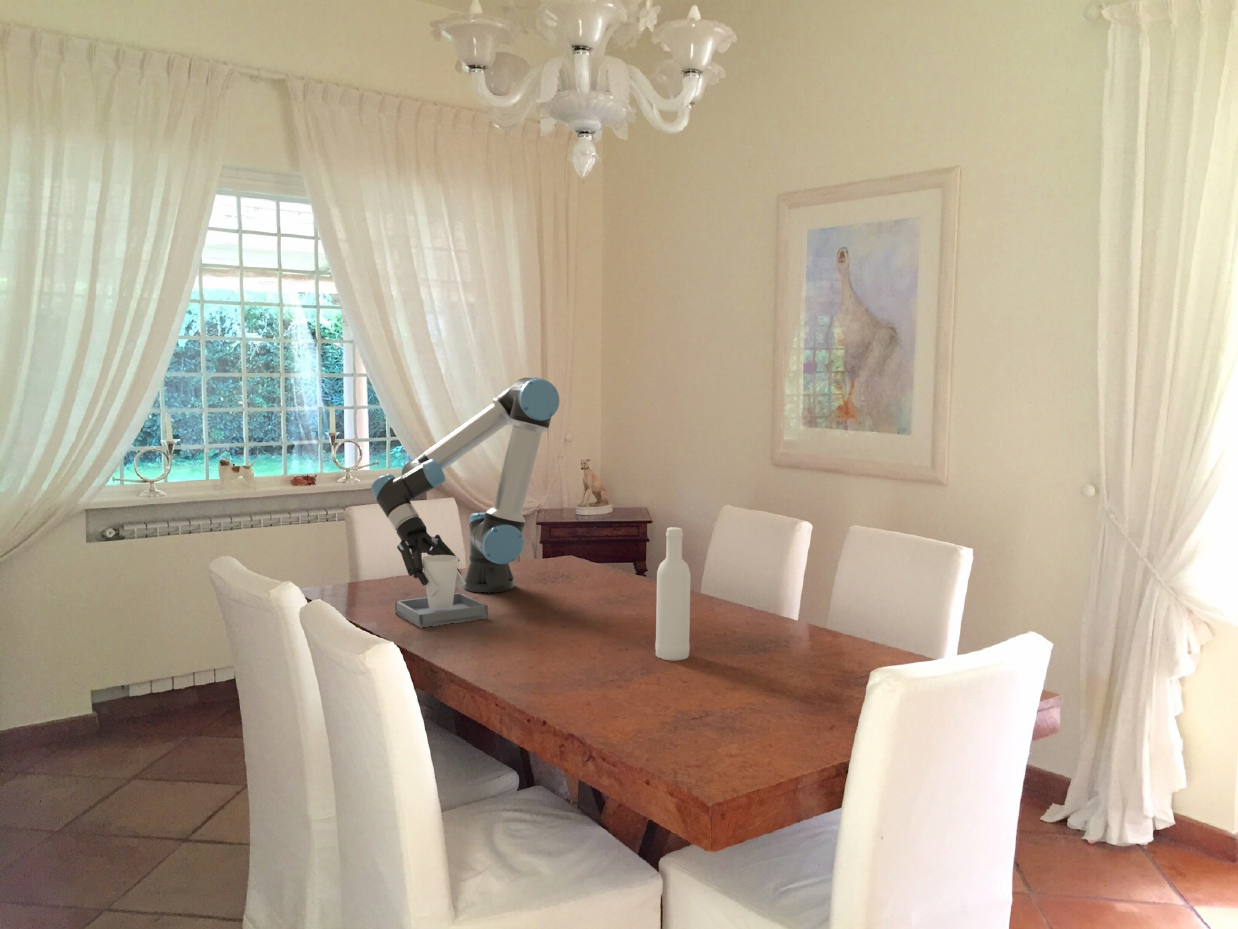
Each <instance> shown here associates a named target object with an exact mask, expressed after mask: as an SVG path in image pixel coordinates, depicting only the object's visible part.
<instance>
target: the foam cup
mask: <svg viewBox="0 0 1238 929" xmlns="http://www.w3.org/2000/svg"><path fill="white" fill-rule="evenodd" d="M456 556H457V555H456ZM456 556H452V555H428V556H424V557H422V564H423V572H424V571H427V572H428V574H429V575H430V577H431V579H432V580H433V582H434V584H435V585H436V587H437V588H438V592H437V593H436V594H435V595H434V596H433V597H431V595H430V594H429V592H428V591H427V589H426V588H425V589H426V597H427V598H428V605H429V608H432V609H448V608H451V607H452V606H453V599H454V594H455V591H456V576H457V568H458V569H459V562H460V561H459V560H460V559H459V556H457V557H456Z"/></svg>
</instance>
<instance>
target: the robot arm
mask: <svg viewBox="0 0 1238 929" xmlns="http://www.w3.org/2000/svg"><path fill="white" fill-rule="evenodd" d="M559 406H560V394H559V391H558V389H557V388H556V386H555V385H554V384H553V383H551V382H550V381H549V380H547V379H544V378H540V377H523V378H520V379H518V380H515V381H514V382H513V383H511V385H509V386H508V387H507V388H506V389H504V390H503V391H502V392H501V393H499V394H498V395H496V396H495V397H494V398H493V399H492V402H491V404H490V405H488V406H487V407H486V408H484V409H483V410H481V411H480V412H479V413H477V414H476V415H475V416H473V417H471V418H470V419H468V421H466V422H465V423H464V424H462V425H461V426H459V427H458V428H456V429H455V430H454V431H452V432H451V433H450V434H448V435H447V436H445V437H444V438H442V439H441V440H440V441H438V442H436V444H434V445H433V446H431V447H429V449H427V450H426V451H424V452H423V453H422V454H419V455H418V456H416V458H414V459H411V460H409V461H407V462H406V463H404V465H403V466H402V469H401V475H400V476H398V477H395V476H394V474H392V473H391V474H390V473H389V474H384V475H380V476H379V477H378V478H376V479H375V480H373V482H372V484H371V486H370V490H371V493H372V495H373V497H374V499H375V501H376V502H377V504H378V506H380V509H381V510H382V512H383V513H384V515H385V517H386V518H387V520H388V521H389V523H390V524H391V526H392V527H393V529H394V530H395V531H396V534H397V536H398V537H399V539H400V542H399V543H398V545H397V547H396V549H397V550H398V551H399V552H400V554H401V557H402V560H403V563H404V566H405V568H406V571H407V575H408V576H410V577H412V576H413V578H414V579H418V581H419V582H420V583H421V585H422V586H424V587H425V589H427V591H428V592H429V594H430V595H431V597H433V596H434V595H435V594H436V593H437V592H438V588H437V587H436V585H435V584H434V582H433V580H432V579H431V577H430V575H429V574H428V572H427V571H424V568H423V556H422V554H425V553H426V554H427V555H428V556H432V555H452V556H456V557H458V556H457V555H456V553H454V552H453V550H451V549H450V548H449V546H448V545H447V544H446V543H445V542H444V541H443V540H442V538H441V536H440V534H436V535H435V536H431V535H430V534H429V533H428V532H427V529H428V528H427V526H426V524H425V522H424V521H423V520H422V518H421V517H420V515H419V513H418V511H417V510H416V509H415V507H414V506H413V504H412V503H411V502H412V501H414V500H416V499H417V498H419V497H420V496H421V497H422V495H425V494H426V493H428V492H430V491H431V490H433V489H435V488H437V487H438V486H440V485H441V484H443V483H444V482H446V475H445V473H444V470H446V469H447V468H448V467H450V466H451V465H453V464H455V462H457V461H458V460H460V459H461V458H462V457H464V456H465V455H467V454H468V453H469V452H471V451H472V450H474V449H475V448H476V447H478V446H479V445H480V444H482V443H484V441H486V440H487V439H489V438H490V437H492V436H493V435H495V434H496V433H497V432H499V431H500V430H502V429H503V428H504V427H506V426H512V428H511V432H510V436H509V440H508V444H507V449H506V452H505V455H504V460H503V464H502V469H501V473H500V477H499V481H498V484H497V489H496V493H495V496H494V500H493V503H492V504H493V505H492V507H490V508H489V509H487V510H486V512H474V513H473V512H472V513H471V514H470V516H469V522H468V525H469V528H468V529H469V564H468V567H467V569H466V572H465V576H464V577H463V576H462V572H461V571H460V569H459V567H458V568H457V576H456V584H455V587H457V590H459V591H461V590H463V589H464V590H466V591H468V592H473V593H481V592H485V593H486V592H488V593H490V594H491V592H493V593H501V592H507V591H511V590H513V589H514V588H515V579H514V575H513V573H512V569H511V565H510V563H512V562H514V561H515V560H517V559H518V558H519V557H520V556H521V554H522V552H523V549H524V545H525V541H524V535H523V531H524V528H525V525H526V524H525V523H526V520H525V518H524V516H523V510H524V505H525V502H526V498H527V494H528V490H529V487H530V483H531V479H532V475H533V470H534V467H535V462H536V458H537V455H538V452H539V451H538V450H539V446H540V443H541V438H542V435H543V434H544V433H545V432H546V431H548V430H549V429H550V424H551V420H552V417H553V416H554V415H555V414H556V413H557V411H558V409H559ZM459 562H460V559H459ZM427 591H426V592H427ZM485 593H484V594H485ZM488 593H487V594H488Z"/></svg>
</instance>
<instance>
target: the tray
mask: <svg viewBox="0 0 1238 929" xmlns="http://www.w3.org/2000/svg"><path fill="white" fill-rule="evenodd" d="M394 602H395V606H394V607H395V609H394V610H395V615H396V616H398V617H400V618H401V617H402V619H403V620H405V619H406V620H405V621H407V620H408V621H409V622H408V621H407V622H408V623H410V624H412V623H413V624H415V625H416V626H415V625H414V626H415V627H417V626H419V627H427V626H433V627H438V626H439V625H440V626H447V625H451V624H450V623H454V624H460V623H467V622H473V620H474V621H479V620H478V619H481V620H486V619H489V617H488V616H489V615H488V614H489V612H488V611H489V610H488V609H489V608H488V607H489V606H488V604H486V603H483V602H480V601H479V600H477V599H474V598H473V597H470V596H468V595H466V594H463V593H462V592H456V593H455V592H454V599H453V606H452V607H451V608H448V609H432V608H429V605H428V598H427V596H425V597H424V596H423V597H418V598H410V599H403V600H396V601H394ZM466 621H467V622H466ZM413 624H412V625H413ZM444 624H445V625H444ZM446 624H447V625H446ZM427 628H428V627H427Z"/></svg>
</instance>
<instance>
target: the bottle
mask: <svg viewBox="0 0 1238 929" xmlns="http://www.w3.org/2000/svg"><path fill="white" fill-rule="evenodd" d="M683 536H684V533H683V528H681V527H676V526H675V527H674V526H673V527H672V526H671V527H667V529H666V532H665V537H666V546H665V547H666V551H665V552H666V554H665V556H666V557H665V558H664V559H663V560H662V562H660V563H659V565H658V569H657V570H656V606H655V608H656V611H655V613H656V616H655V618H656V622H655V645H654V646H655V647H654V648H655V657H657V658H658V659H660V658H661V659H660V660H664V661H672V662H673V661H675V662H676V661H684V660H686V659H688V658H689V657H690V649H691V646H690V645H691V644H690V627H691V626H690V624H691V623H690V621H691V620H690V619H691V613H690V612H691V574H692V573H691V571H690V568H689V564H688V563H687V562H686V561H685V560H684V559H683Z"/></svg>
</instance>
